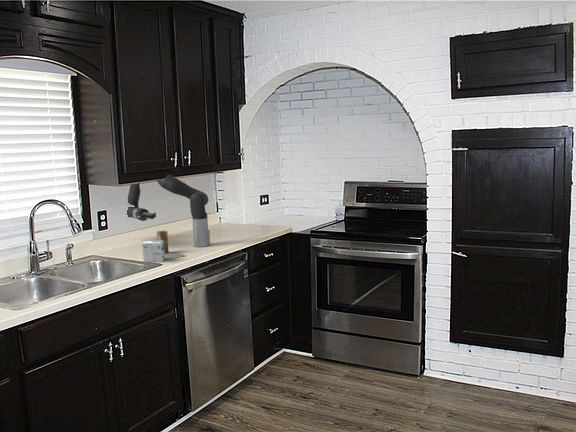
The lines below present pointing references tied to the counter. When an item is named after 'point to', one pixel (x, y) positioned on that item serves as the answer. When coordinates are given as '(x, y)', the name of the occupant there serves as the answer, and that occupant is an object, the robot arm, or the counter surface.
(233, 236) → the counter surface
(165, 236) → the walnut block
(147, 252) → the light bulb box
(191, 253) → the counter surface
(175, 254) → the mat
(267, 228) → the counter surface
